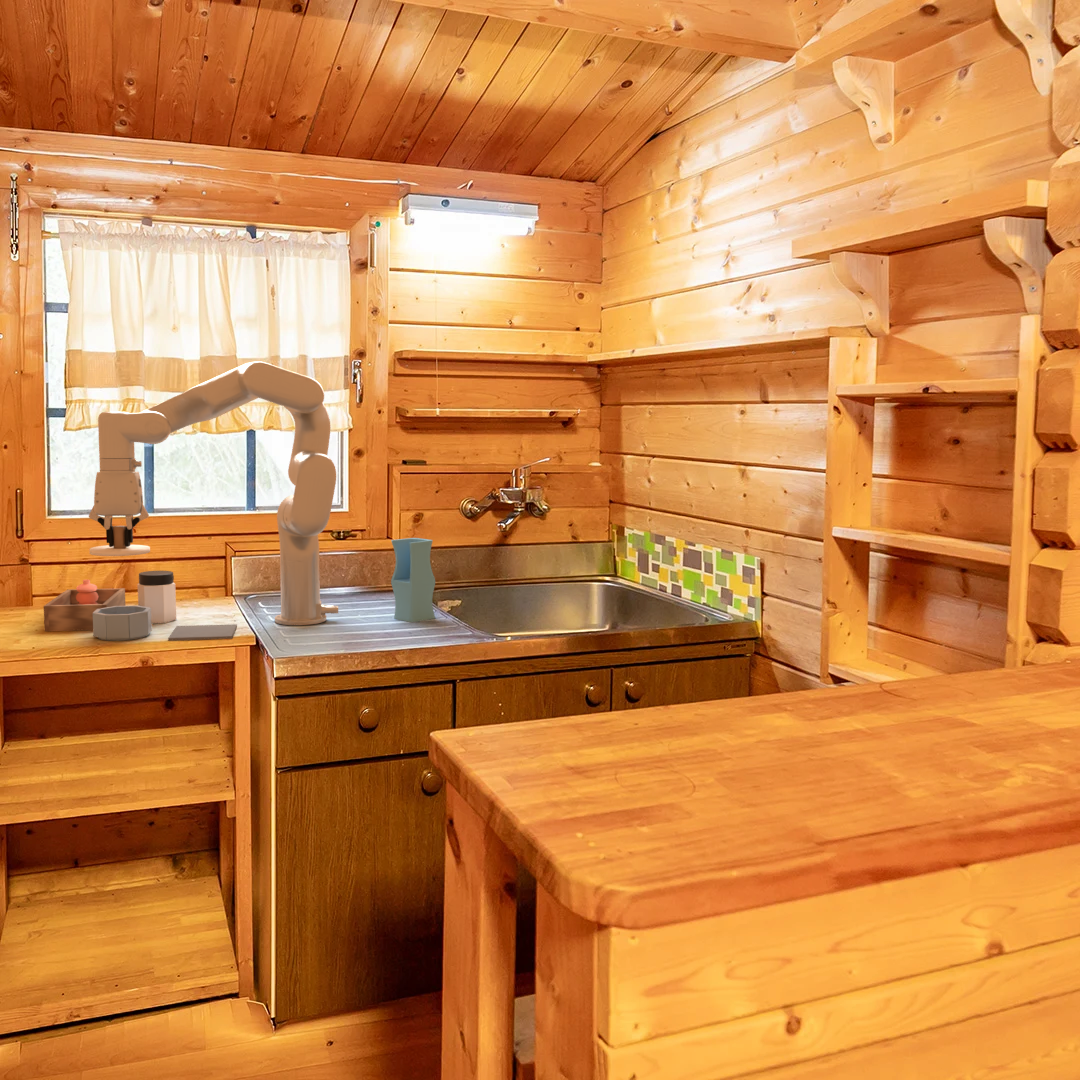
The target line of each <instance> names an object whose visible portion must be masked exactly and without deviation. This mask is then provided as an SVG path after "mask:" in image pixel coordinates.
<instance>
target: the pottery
mask: <svg viewBox="0 0 1080 1080" xmlns="http://www.w3.org/2000/svg"><path fill="white" fill-rule="evenodd" d="M97 589H98V586H97V585H96V584H94V583H91V580H90V579H83V580H82V583H81V584H79V585H77V586H76V590H77V591H78V592H79V593H78V594H77V595H76V600H77V601H78V602H79V604H78V605H84V604H97V603H96V601H97V600H98V594H97V593H96V592H94V591H96V590H97Z"/></svg>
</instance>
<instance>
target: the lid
mask: <svg viewBox="0 0 1080 1080" xmlns="http://www.w3.org/2000/svg"><path fill="white" fill-rule="evenodd" d="M112 526H113V547H109V544H108V545H107V544H106V545H98V546H97V545H96V546H93V547H90V548H89V550H88V551H89V555H92V556H99V557H125V556H126V557H128V556H129V557H130V556H138V555H145V554H148V553H150V552H151V546H149V545H144V544H130V546H129V547H126V546H125V534H124V530H125V529H126V526H127V525H112Z"/></svg>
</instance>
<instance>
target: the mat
mask: <svg viewBox="0 0 1080 1080" xmlns="http://www.w3.org/2000/svg"><path fill="white" fill-rule="evenodd" d="M237 628H238V624H237V623H236V624H234V623H233V624H232V623H231V624H206V625H205V624H202V625H199V624H198V625H195V624H194V625H176V626H175V628H174V629H173V630H172V632H171V633H170V634H169V636H168V638H167V639H168V641H198V640H199V641H200V640H201V641H202V640H233V637H234V636H235V635H234V634H235V633H236V630H237Z"/></svg>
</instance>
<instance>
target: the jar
mask: <svg viewBox="0 0 1080 1080" xmlns="http://www.w3.org/2000/svg"><path fill="white" fill-rule="evenodd" d="M174 577H175V576H174V572H173V571H171V570H147V571H142V572H139V573H138V583H137V601H138V602H137V605H138V606H144V607H150V608H151V622H152V624H166V623H170V622H174V621H177V599H176V598H177V595H176V593H177V592H176V583H175V582H174V580H175V578H174Z"/></svg>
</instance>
